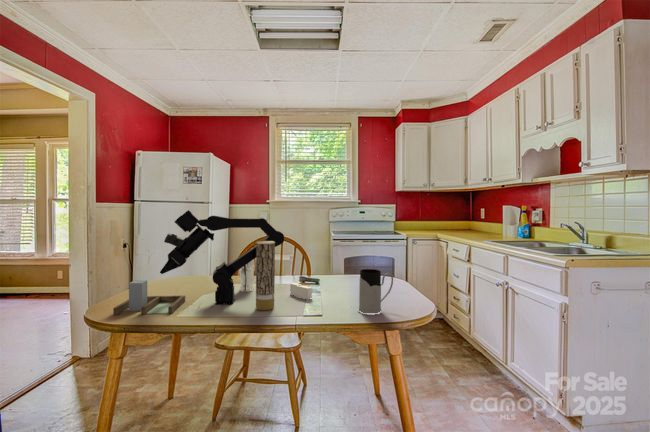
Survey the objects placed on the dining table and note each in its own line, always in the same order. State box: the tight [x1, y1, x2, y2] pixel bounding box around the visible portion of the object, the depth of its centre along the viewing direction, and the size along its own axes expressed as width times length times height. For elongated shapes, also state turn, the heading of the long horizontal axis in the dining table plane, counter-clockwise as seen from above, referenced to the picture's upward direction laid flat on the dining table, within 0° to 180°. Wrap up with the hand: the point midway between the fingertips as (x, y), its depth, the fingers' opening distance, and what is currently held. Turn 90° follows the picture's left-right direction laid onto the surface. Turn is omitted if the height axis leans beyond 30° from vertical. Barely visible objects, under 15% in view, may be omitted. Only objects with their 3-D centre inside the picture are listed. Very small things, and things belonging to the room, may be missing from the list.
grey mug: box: [358, 268, 394, 313], centre depth 121 cm, size 9×14×15 cm, turn 113°
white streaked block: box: [238, 259, 256, 293], centre depth 149 cm, size 7×7×15 cm
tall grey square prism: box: [128, 279, 148, 312], centre depth 120 cm, size 4×4×10 cm
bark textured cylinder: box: [255, 240, 276, 312], centre depth 122 cm, size 7×7×25 cm
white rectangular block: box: [289, 282, 313, 300], centre depth 140 cm, size 15×11×6 cm
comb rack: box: [113, 294, 186, 316], centre depth 121 cm, size 19×15×2 cm
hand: (162, 270), depth 122 cm, fingers open, 9 cm apart
